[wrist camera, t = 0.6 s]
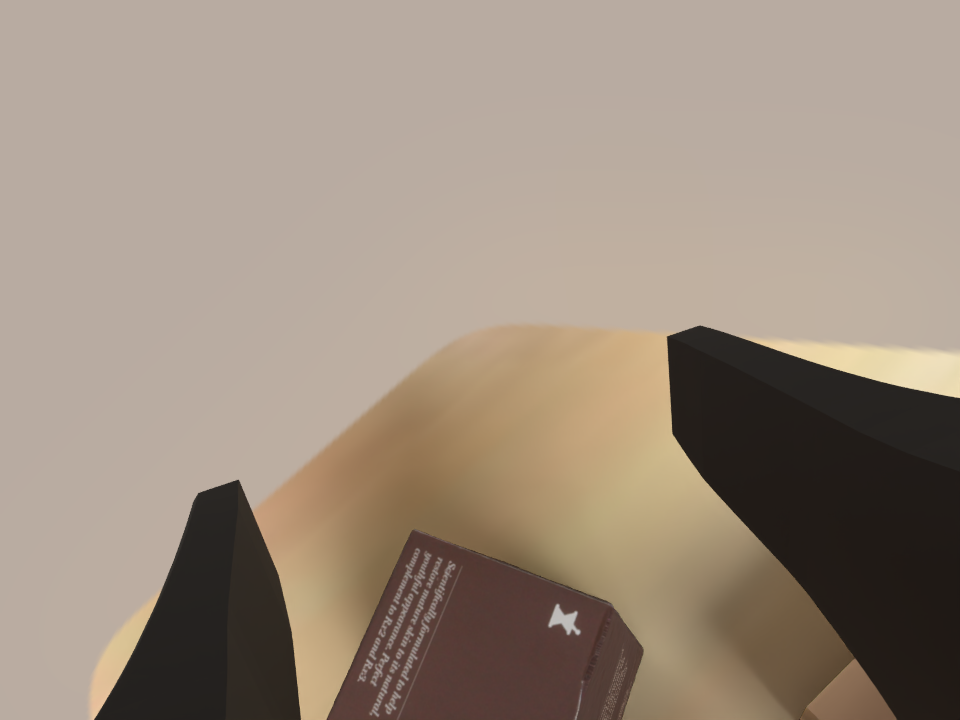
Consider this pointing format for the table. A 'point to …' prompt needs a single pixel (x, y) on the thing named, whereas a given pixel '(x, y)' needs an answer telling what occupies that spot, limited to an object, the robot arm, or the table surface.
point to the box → (486, 645)
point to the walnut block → (849, 698)
